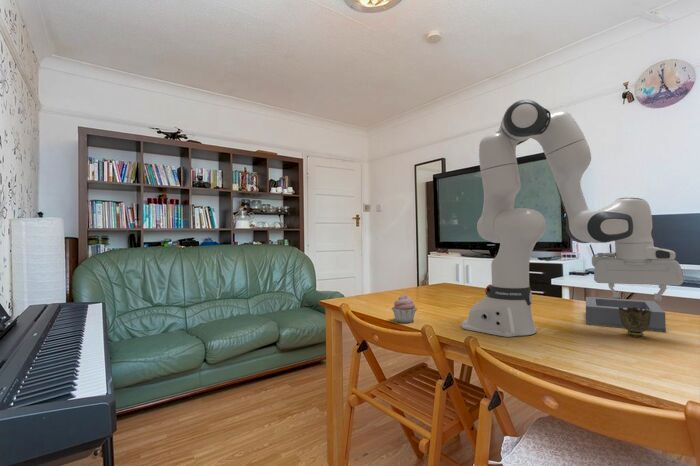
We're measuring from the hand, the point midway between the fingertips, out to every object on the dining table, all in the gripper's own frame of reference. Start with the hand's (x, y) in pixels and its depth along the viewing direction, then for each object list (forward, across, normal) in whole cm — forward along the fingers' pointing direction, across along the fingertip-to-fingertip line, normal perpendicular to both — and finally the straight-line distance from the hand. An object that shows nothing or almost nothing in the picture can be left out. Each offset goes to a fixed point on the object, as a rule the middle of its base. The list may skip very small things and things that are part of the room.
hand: (636, 299), depth 102 cm
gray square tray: (+11, -3, +18) cm, 22 cm away
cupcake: (+9, -68, -17) cm, 70 cm away
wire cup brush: (+11, -1, 0) cm, 11 cm away
